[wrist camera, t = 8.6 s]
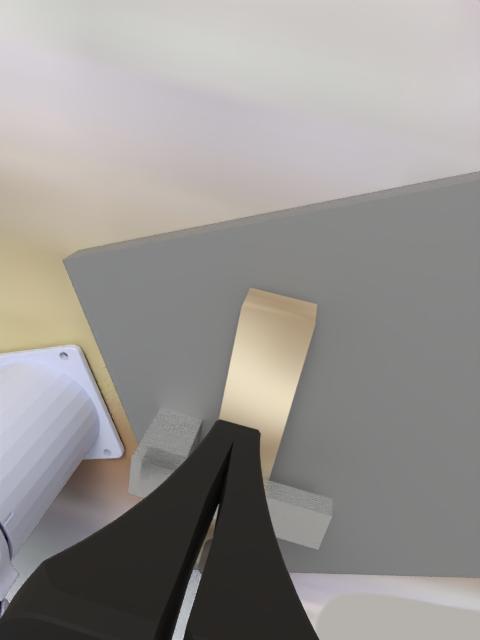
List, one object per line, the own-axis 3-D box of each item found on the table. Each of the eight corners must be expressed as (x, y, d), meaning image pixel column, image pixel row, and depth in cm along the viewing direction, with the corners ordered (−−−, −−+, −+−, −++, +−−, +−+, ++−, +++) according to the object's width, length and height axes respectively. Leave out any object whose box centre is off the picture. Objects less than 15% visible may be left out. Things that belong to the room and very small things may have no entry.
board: (196, 549, 31) (189, 569, 30) (78, 250, 22) (62, 260, 21) (557, 555, 25) (569, 580, 24) (588, 150, 16) (609, 155, 15)
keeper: (155, 440, 25) (128, 493, 22) (159, 408, 24) (131, 458, 21) (320, 487, 24) (318, 549, 21) (332, 456, 23) (332, 516, 20)
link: (253, 550, 27) (244, 602, 25) (190, 531, 28) (174, 580, 25) (328, 307, 19) (326, 343, 16) (239, 284, 20) (222, 316, 17)
